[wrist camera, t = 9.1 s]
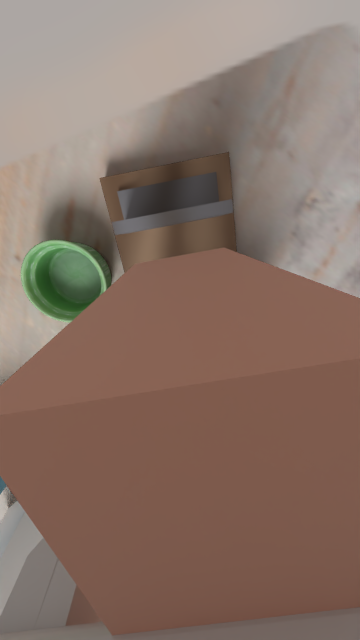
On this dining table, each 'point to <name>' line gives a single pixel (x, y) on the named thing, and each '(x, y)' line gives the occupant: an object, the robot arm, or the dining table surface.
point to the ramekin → (64, 278)
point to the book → (196, 444)
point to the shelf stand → (172, 209)
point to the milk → (14, 547)
